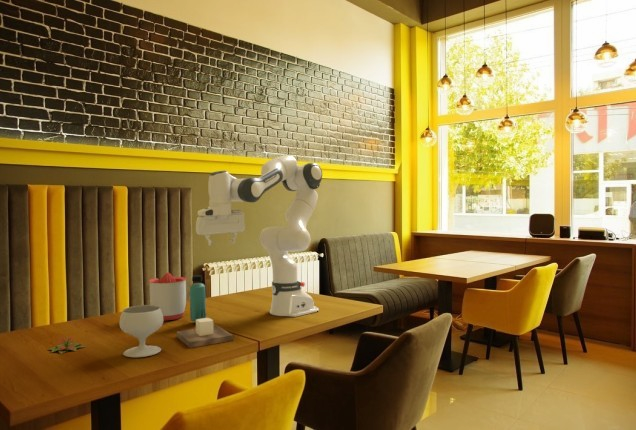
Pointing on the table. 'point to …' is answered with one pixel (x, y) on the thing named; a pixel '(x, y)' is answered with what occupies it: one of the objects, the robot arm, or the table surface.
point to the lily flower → (66, 346)
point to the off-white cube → (204, 326)
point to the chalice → (141, 327)
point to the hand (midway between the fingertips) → (221, 244)
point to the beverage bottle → (197, 299)
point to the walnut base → (204, 337)
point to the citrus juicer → (169, 295)
